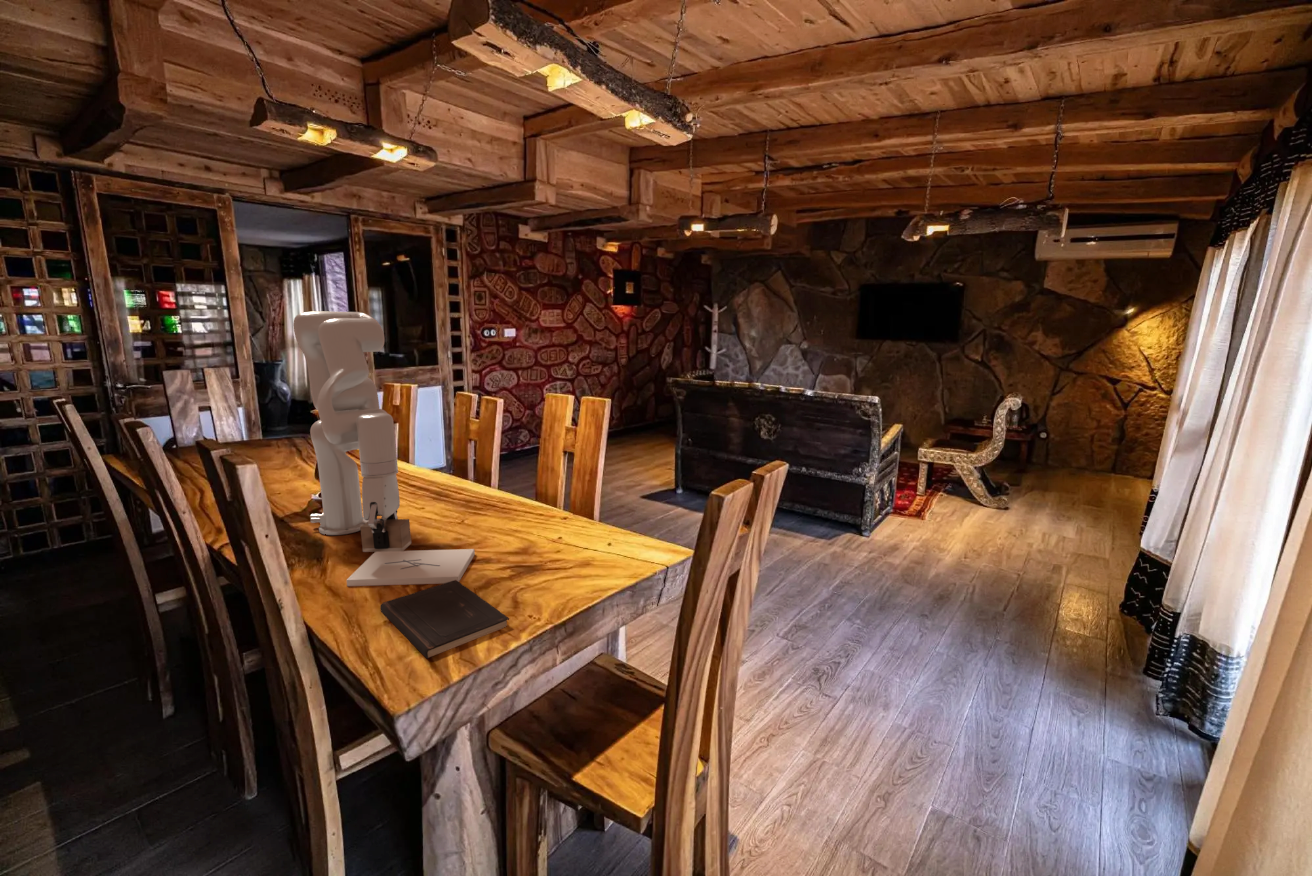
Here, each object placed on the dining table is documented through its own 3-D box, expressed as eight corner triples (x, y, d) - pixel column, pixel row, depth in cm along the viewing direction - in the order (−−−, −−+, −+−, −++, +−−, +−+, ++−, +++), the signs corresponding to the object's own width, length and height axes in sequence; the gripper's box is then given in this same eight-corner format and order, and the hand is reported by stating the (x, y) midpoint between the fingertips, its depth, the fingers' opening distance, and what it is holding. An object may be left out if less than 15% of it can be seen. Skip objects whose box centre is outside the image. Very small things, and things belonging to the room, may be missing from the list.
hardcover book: (456, 589, 126) (455, 579, 126) (509, 628, 110) (509, 617, 109) (380, 614, 115) (379, 603, 115) (427, 662, 99) (426, 649, 99)
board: (347, 586, 126) (346, 579, 126) (375, 557, 142) (375, 551, 141) (458, 582, 128) (457, 576, 128) (474, 554, 144) (474, 548, 143)
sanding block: (362, 551, 130) (360, 526, 129) (373, 543, 135) (370, 519, 134) (402, 551, 130) (400, 526, 129) (411, 543, 135) (409, 519, 134)
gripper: (377, 459, 137) (384, 531, 141) (345, 477, 121) (354, 558, 124) (409, 459, 138) (415, 530, 141) (381, 476, 121) (389, 557, 125)
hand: (386, 542), depth 133 cm, fingers closed on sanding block, 5 cm apart
